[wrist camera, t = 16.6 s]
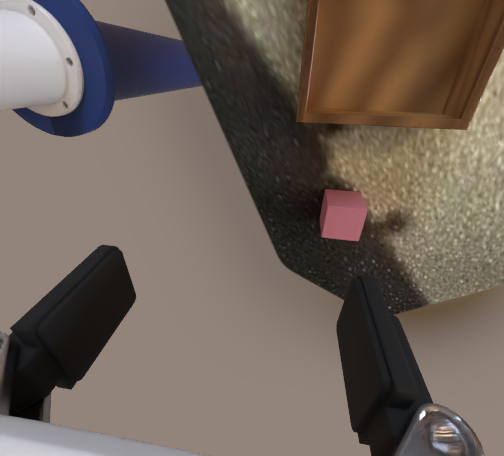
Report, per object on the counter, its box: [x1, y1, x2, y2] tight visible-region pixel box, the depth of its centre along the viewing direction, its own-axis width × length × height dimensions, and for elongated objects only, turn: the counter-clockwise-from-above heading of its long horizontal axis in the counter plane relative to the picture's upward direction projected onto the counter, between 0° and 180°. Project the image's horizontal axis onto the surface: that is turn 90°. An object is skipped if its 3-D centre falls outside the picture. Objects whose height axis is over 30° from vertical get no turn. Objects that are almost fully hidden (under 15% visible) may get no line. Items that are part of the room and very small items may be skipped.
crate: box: [296, 0, 504, 130], centre depth 23 cm, size 16×14×5 cm
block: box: [320, 189, 368, 241], centre depth 32 cm, size 4×4×5 cm
